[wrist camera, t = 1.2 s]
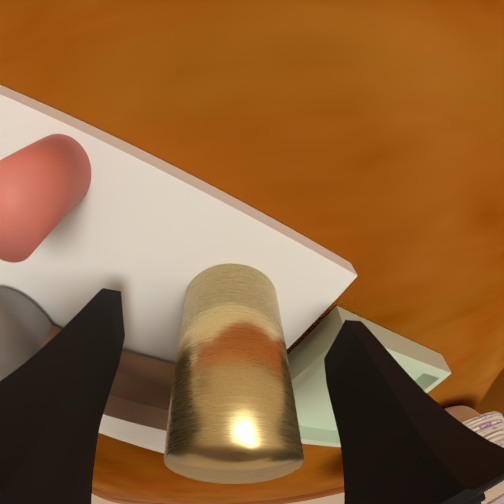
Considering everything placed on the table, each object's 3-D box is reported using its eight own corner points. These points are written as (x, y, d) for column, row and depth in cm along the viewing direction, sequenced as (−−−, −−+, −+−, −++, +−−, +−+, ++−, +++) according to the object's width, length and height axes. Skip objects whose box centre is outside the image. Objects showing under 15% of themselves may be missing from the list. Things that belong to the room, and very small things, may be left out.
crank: (-7, 337, 12) (-37, 393, 8) (-24, 273, 9) (-69, 334, 6) (228, 412, 15) (229, 479, 11) (261, 365, 13) (269, 449, 9)
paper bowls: (349, 424, 19) (372, 521, 12) (511, 360, 18) (549, 431, 11) (342, 474, 27) (354, 534, 20) (460, 433, 26) (480, 484, 19)
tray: (340, 430, 19) (344, 447, 18) (227, 408, 16) (227, 430, 15) (441, 354, 15) (451, 373, 14) (336, 305, 12) (345, 331, 11)
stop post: (79, 218, 9) (31, 277, 6) (23, 188, 8) (-34, 237, 5) (102, 151, 8) (46, 195, 5) (40, 122, 7) (-28, 153, 4)
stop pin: (246, 342, 12) (255, 487, 7) (171, 312, 11) (147, 469, 6) (295, 287, 11) (333, 452, 6) (211, 247, 10) (198, 430, 5)
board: (166, 444, 20) (165, 453, 19) (-78, 318, 13) (-82, 325, 12) (350, 263, 11) (357, 275, 11) (-85, 52, 4) (-96, 55, 4)
